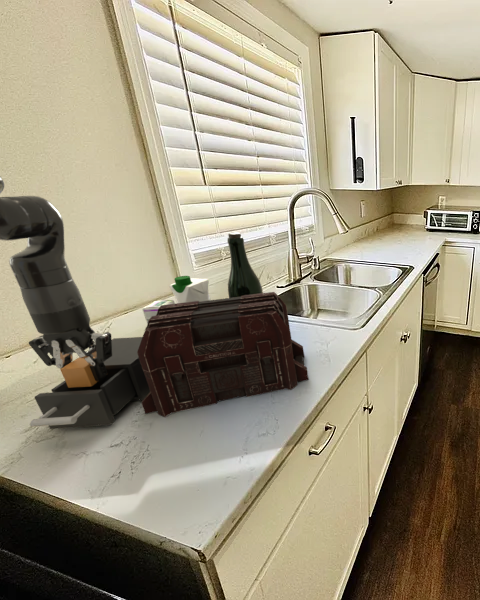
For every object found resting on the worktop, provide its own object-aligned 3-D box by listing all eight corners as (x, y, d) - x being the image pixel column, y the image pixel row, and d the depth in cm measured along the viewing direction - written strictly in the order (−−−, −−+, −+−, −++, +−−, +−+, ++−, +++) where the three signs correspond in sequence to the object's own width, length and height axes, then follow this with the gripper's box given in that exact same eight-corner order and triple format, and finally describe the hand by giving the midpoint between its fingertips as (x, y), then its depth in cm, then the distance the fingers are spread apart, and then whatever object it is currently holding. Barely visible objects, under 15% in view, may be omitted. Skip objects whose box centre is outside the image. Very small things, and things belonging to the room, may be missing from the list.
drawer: (93, 442, 63) (78, 408, 60) (27, 447, 62) (9, 413, 59) (149, 387, 79) (139, 359, 76) (97, 390, 78) (85, 362, 75)
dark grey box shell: (143, 400, 76) (130, 364, 72) (84, 404, 75) (68, 367, 71) (175, 367, 89) (166, 335, 85) (125, 370, 88) (113, 338, 84)
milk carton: (180, 338, 105) (163, 279, 98) (202, 326, 113) (188, 270, 106) (203, 340, 103) (187, 280, 96) (223, 328, 111) (210, 272, 104)
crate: (140, 422, 69) (107, 334, 61) (165, 374, 85) (142, 300, 78) (309, 386, 80) (299, 308, 73) (303, 350, 97) (294, 283, 89)
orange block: (85, 375, 71) (78, 357, 69) (107, 374, 71) (100, 356, 70) (68, 388, 67) (59, 369, 65) (91, 386, 67) (83, 367, 65)
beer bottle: (239, 328, 111) (218, 231, 99) (271, 324, 114) (255, 229, 102) (233, 342, 102) (209, 236, 90) (268, 338, 104) (250, 234, 92)
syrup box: (176, 351, 97) (163, 306, 92) (155, 352, 96) (141, 307, 91) (186, 342, 102) (174, 299, 97) (167, 343, 102) (154, 300, 96)
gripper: (110, 296, 67) (135, 367, 73) (34, 299, 66) (66, 371, 72) (80, 310, 60) (111, 388, 66) (-5, 314, 59) (34, 392, 65)
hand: (87, 379), depth 69 cm, fingers open, 4 cm apart
